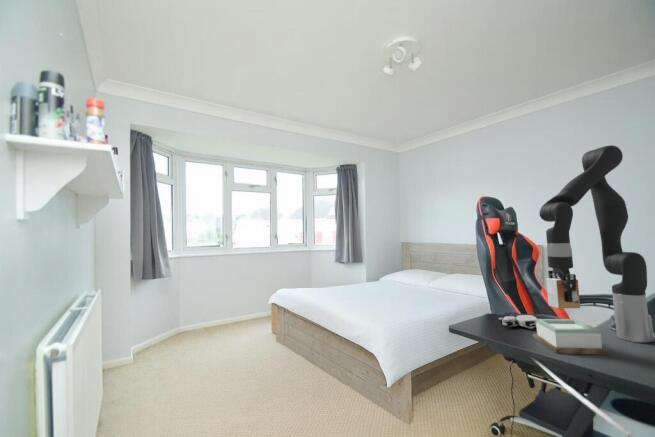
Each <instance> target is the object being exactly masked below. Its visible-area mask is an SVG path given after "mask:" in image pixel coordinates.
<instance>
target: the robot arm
mask: <svg viewBox="0 0 655 437" xmlns="http://www.w3.org/2000/svg"><path fill="white" fill-rule="evenodd" d="M622 161H623V152H622V150H621V148H619V147H618V146H616V145H613V144H612V145H605V146H601V147H597V148H596V149H592V150H588V151H586V152H585V153H584V154H583V155H582V157H581V164H582V168H583V172H581V173H580V174H578V175H577V176H576V177H574V178H573V179H571V180H569V181H568V183H566V184H565V185H564V187H563V188H562V189H561V190H560V191H559V192H558V193H557V194H556V195H554V196H553V197H552V198H550V199H548V200H547V201H546V202H545V203H544V204H543V205H541V207H540V209H539V217H540V219H541V220H543V221H545V222H548V223H549V222H550V223H551V222H554V224H553V227H550V228H547V229H546V231H545V235H546V254H547V255H546V256H547V267H548V268H550V269H552V270H548V271H547V273H548V278H550V279H551V278H554V279H555V278H556V279H559V280H566V283H564V282H563V281H562V282H561V283H562V285H563V289H564V291H565V292H564V298H565V301H566V302H572V301H573V299H572V292H573V291H576V279H577V276H576V274H575V273H573V274H572V273H571V272H570V269H572V268H574V262H573V251H572V250H573V249H572V246H571V238H570V230H571V226H572V221H573V216H574V210H573V208H572V207H574V206H575V205H578V203H579V202H580V201H581V200H583V197H585V195H587V193H588V192H589V191H590V192H591V197H592V202H593V206H594V211H595V212H594V213H595V216H596V217H595V218H596V220H597V224H598V230H599V235H600V241H601V251H602V252H601V254H602V261H603V262H602V263H603V266H604V268H605V270H606V271H607V272H609V274H612V275H617V276H621V282H619V283H616V284H612V286H611V292H612V304H613V311H614V312H613V313H614V320H615V323H614V324H615V332H616V337H617V338H619V339H621V340H624V341H628V342H634V343H650V342H655V337H654V336H655V335H654V330H653V326H654V325H653V319H652V315H651V314H649V311H648V305H647V303H648V302H647V295H646V290H647V288H648V270H647V269H648V268H647V262H646V260H645V258H644V256H643V255H642V254H640V253H639V252H632V251H631V252H630V251H623V248H622V241H621V240H622V235H623V233H624V230H625V229H626V226H627V224H628V221H629V213H628V208H627V204H626V201H625V200H624V198H623V197H622V196H621V194H619V193H618V192H617V190H615V189H614V188H613V187H612V186H611V185H610V184H609V183H608V181H607V179H606V176H607V175H608V174H609V173H611V172H612V171H613V170H614V169H616V168H617V167H619V165H620V164H621V162H622ZM565 285H566V286H565Z"/></svg>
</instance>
